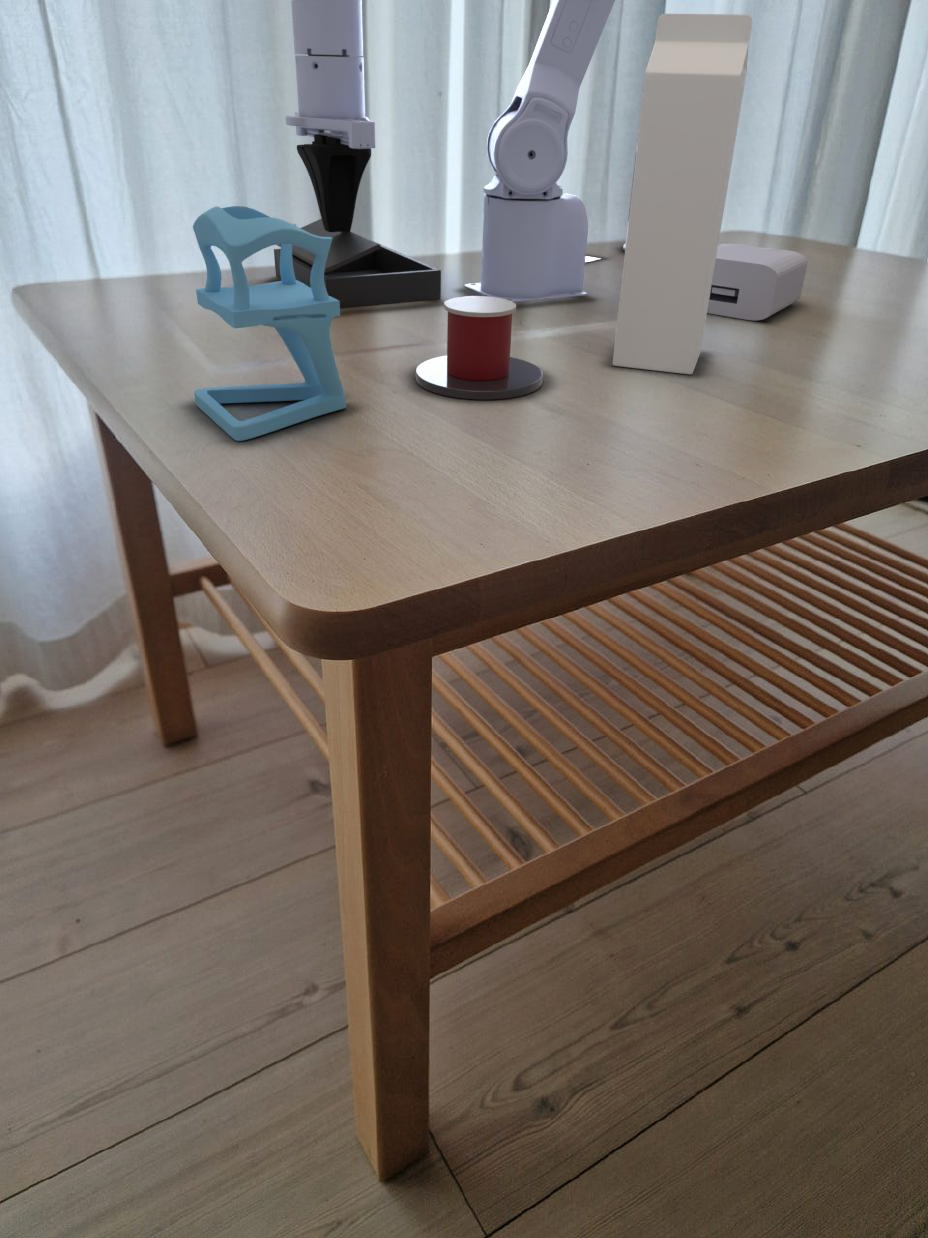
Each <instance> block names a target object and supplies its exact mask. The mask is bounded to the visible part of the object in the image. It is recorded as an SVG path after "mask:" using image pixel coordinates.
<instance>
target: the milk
mask: <svg viewBox="0 0 928 1238" xmlns="http://www.w3.org/2000/svg"><path fill="white" fill-rule="evenodd" d="M752 27H753V18H752V16H751V15H750V14H730V13H729V14H728V13H727V14H725V13H724V14H723V13H721V14H720V13H661V14H660V15H659V17H658V19H657V23H656V32H655V41H654V44H653V48H652V50H651V53H650V57H649V59H648V62H647V65H646V68H645V71H644V72H645V73H644V81H643V89H642V99H641V106H640V107H641V108H640V117H639V124H638V125H639V126H638V132H637V133H638V134H637V139H638V142H637V141H636V148H637V151H636V150H635V157H636V160H635V159H634V166H635V169H634V168H633V175H634V177H632V183H633V186H632V185H631V192H632V195H631V194H630V201H631V204H630V203H629V210H630V213H629V212H628V219H629V222H628V221H627V228H628V231H627V230H626V236H627V239H626V238H625V243H626V248H625V251H624V259H623V267H622V278H621V283H620V284H621V285H620V292H619V293H620V294H619V303H618V311H617V321H616V330H615V337H614V347H613V355H612V366H614V367H622V368H629V369H631V368H632V369H638V370H639V369H640V370H648V371H655V372H665V373H675V374H683V375H693V373H694V370H695V368H696V365H697V363H698V360H699V357H700V355H701V352H702V346H703V339H704V334H705V327H706V320H707V315H708V313H707V310H708V304H709V298H710V291H711V285H712V279H713V273H714V267H715V261H716V255H717V249H718V245H719V242H720V236H721V231H722V224H723V218H724V212H725V206H726V200H727V193H728V187H729V181H730V176H731V175H730V174H731V170H732V163H733V157H734V151H735V145H736V141H737V140H736V138H737V133H738V126H739V121H740V115H741V109H742V103H743V97H744V91H745V85H746V77H747V71H748V59H749V47H750V38H751V34H752Z"/></svg>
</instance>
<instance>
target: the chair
mask: <svg viewBox="0 0 928 1238" xmlns="http://www.w3.org/2000/svg"><path fill="white" fill-rule="evenodd" d="M301 228H302V227H299V226H297V224H296V223H291V222H289V221H287V220H284V219H280V218H277V217H271V216H270V215H267V214H266V213H263V212H261V211H259V210H257V209H254V208H251V207H248V206H242V205H232V206H226V207H220V206H214V207H211V208H209V209H208V210H206V211H204V212H203V213H201V214H199V216H198V217H197V218H196V219H195V221H194V223H193V224H192V229H193V232H194V235H195V238H196V242H197V244H198V248H199V250H200V253H201V255H202V258H203V261H204V263H205V267H206V282H205V286H204V288H195V293H196V301H197V305H199V306H200V307H202V308H203V309H206V310H208V311H210V312H211V311H212V312H213V313H215V314H216V315H217V316H219V317H220V319H222V320H223V321H224V323H226V324H227V325H229V326H230V327H232V328H233V329H243V328H250V327H258V326H264V327H269V328H274V329H275V331H276V332H277V334H278V336H280V338H281V340H282V341H283V344H284V345H285V346H286V348H287V350H288V352H289V353H290V355H291V357H292V359H293V361H294V363H295V364H296V366H297V368H298V369H299V371H300V373H301V375H302V377H303V379H304V382H303V381H302V382H295V383H293V382H291V383H276V384H275V383H274V384H252V385H232V386H231V385H230V386H215V387H204V388H203V387H202V388H198V389H195V390H194V392H193V395H194V399H195V404H196V407H197V408H198V409H200V410H201V411H202V412H203V413H204V414H205V415H206V416H207V417H209V418H210V419H211V421H212V422H214V423H215V424H216V425H217V426H218V427H220V429H222V430H223V431H224V432H225V433H226V434H227V435H228V436H229V437H231V438H232V439H233V441H236V442H242V441H247V440H251V439H254V438H257V437H260V436H264V435H266V434H269V433H273V432H276V431H278V430H281V429H284V428H286V427H290V426H293V425H295V424H299V423H301V422H304V421H307V420H310V419H313V418H316V417H320V416H322V415H326V414H329V413H333V412H336V411H340V410H344V409H346V408H347V401H346V394H345V391H344V387H343V384H342V380H341V377H340V373H339V371H338V367H337V363H336V359H335V355H334V351H333V345H332V340H331V326H332V325H331V324H332V322H333V320H334V319H335V318H337V317H340V316H341V309H340V301H339V300H337V299H335V298H333V297H331V296H328V293H327V291H326V288H325V283H324V270H325V264H326V261H327V257H328V253H329V249H330V246H331V242H332V238H331V237H320V236H316V235H313V234H310V233H308V232H307V231H305V230H303V229H301ZM277 244H281V247H280V249H281V251H280V275H281V279H280V280H278V281H272V282H267V283H261V284H255V285H254V284H253V285H249V283H248V278H247V275H246V272H245V268H244V266H243V262H244V261H245V260H246V259H248V258H250V257H251V256H253V255H255V254H256V253H258V252H260V251H262V250H265V249H266V248H269V247H271V246H277ZM292 245H295V246H299V247H301V248H304V249H306V250H308V251H310V252H312V253H314V254H315V255H316V258H315V261H314V264H313V267H312V270H311V275H310V285H311V288H310V287H308V286H307V285H305V284H304V283H302V282H299V281H297V280H296V279H295V275H294V269H293V261H292ZM212 247H216V248H218V249H219V250H220V251H221V252H222V253H223V254H224V255H225V257H226V258H227V260H228V263H229V266H230V271H231V276H232V282H233V283H232V284H233V286H222V271H221V267H220V264H219V261H218V259H217V257H216V255H215V253H214V251H213V249H212ZM290 401H291V402H292V401H297V402H295V403H292V404H289V405H286V406H283V407H279V408H277V409H274V410H271V411H269V412H266V413H263V414H260V415H257V416H254V417H250V418H247V419H245V420H239V419H237V418H236V417H235V416H234V415H232V414H231V413H230V412H229V411H228V409H226V408H225V407H223V406H222V404H242V403H264V402H265V403H266V402H290Z"/></svg>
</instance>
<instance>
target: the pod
mask: <svg viewBox="0 0 928 1238" xmlns="http://www.w3.org/2000/svg"><path fill="white" fill-rule="evenodd" d="M443 308H444V310H445V311H446V312H447V328H446V329H447V331H446V334H447V335H446V336H447V337H446V344H447V345H446V355H447V372H448V373H449V374H450V375H451V376H454V377H456V378H460V379H465V380H473V381H489V380H496V379H500V378H503V377H506V376H507V375H508V374H509V367H510V357H511V344H512V330H513V329H512V326H513V314H514V313H516V311H517V303H516V302H512V301H510V300H507V299H503V298H497V297H489V296H484V295H465V296H457V297H451V298H449V299H447V300H445V301H444V302H443Z"/></svg>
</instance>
